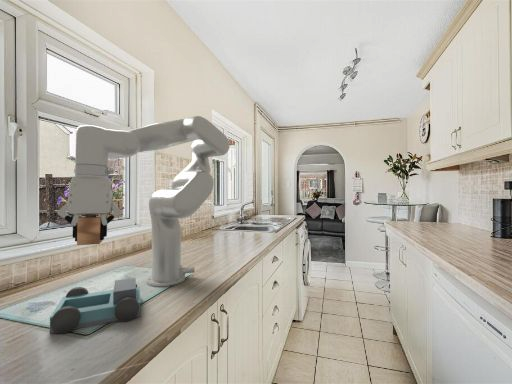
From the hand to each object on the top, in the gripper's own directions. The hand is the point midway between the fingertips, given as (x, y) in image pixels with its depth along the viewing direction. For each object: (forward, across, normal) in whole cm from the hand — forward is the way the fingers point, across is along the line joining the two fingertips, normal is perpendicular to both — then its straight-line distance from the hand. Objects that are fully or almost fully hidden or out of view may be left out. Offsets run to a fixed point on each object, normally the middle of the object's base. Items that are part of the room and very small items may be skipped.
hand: (90, 239), depth 71 cm
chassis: (+18, -4, +6) cm, 19 cm away
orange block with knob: (+1, 0, 0) cm, 1 cm away
